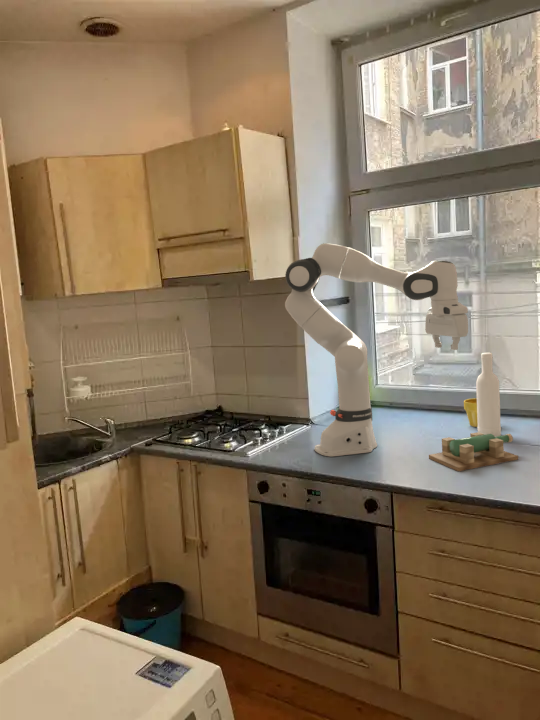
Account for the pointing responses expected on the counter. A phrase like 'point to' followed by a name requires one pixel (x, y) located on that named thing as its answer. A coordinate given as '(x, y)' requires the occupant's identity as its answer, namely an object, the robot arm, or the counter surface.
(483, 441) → the bottle
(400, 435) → the counter surface
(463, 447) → the bottle rest
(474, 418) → the plant pot
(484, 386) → the bottle
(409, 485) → the counter surface
